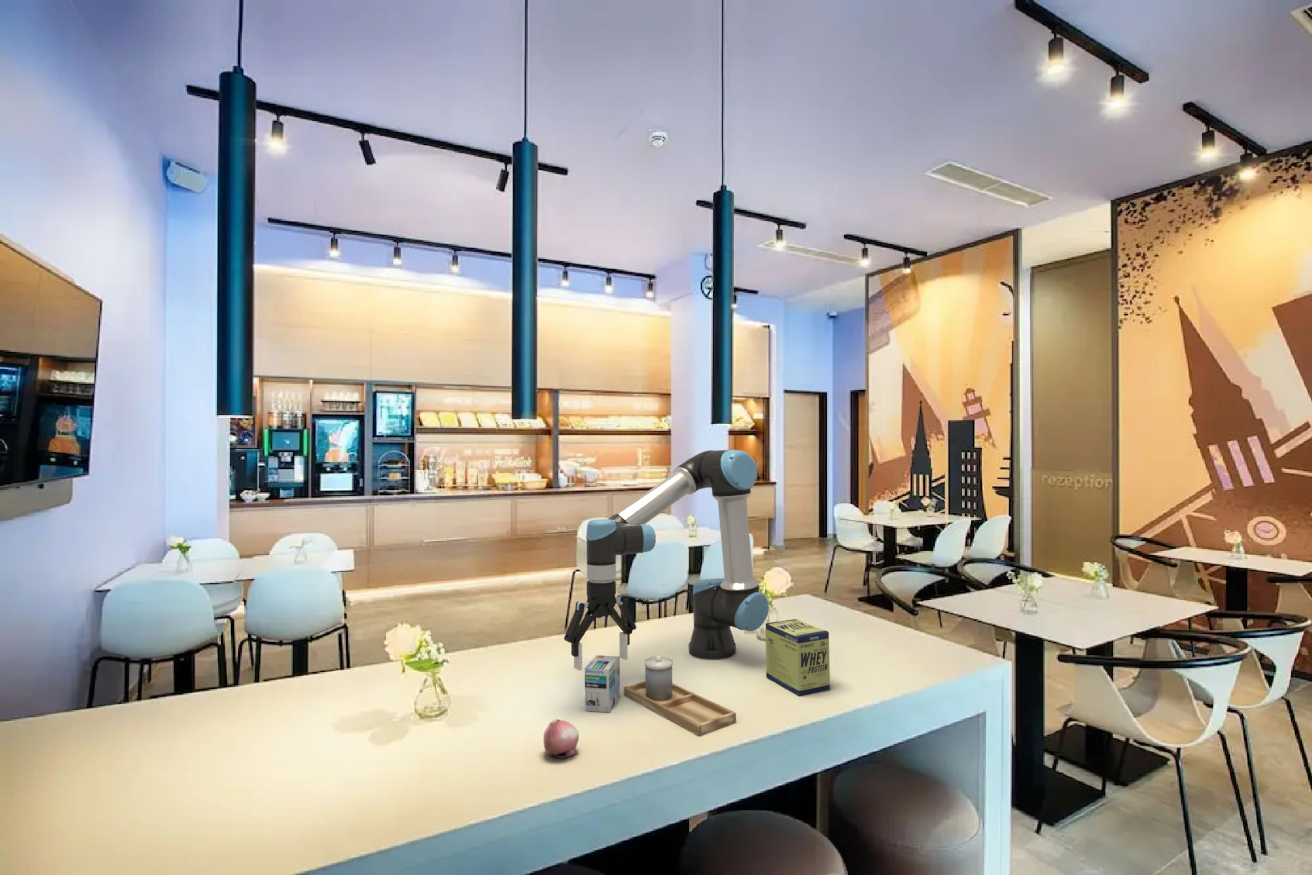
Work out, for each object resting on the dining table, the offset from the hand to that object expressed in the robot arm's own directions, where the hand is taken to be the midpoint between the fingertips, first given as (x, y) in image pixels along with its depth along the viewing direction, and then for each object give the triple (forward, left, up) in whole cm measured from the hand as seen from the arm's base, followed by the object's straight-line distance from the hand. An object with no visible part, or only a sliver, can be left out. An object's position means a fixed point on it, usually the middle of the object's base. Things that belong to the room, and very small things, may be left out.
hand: (601, 663), depth 159 cm
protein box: (-49, +22, -11) cm, 55 cm away
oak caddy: (-13, +14, -10) cm, 22 cm away
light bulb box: (0, 0, -11) cm, 11 cm away
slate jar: (-13, +7, -10) cm, 18 cm away
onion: (+21, +17, -11) cm, 29 cm away
